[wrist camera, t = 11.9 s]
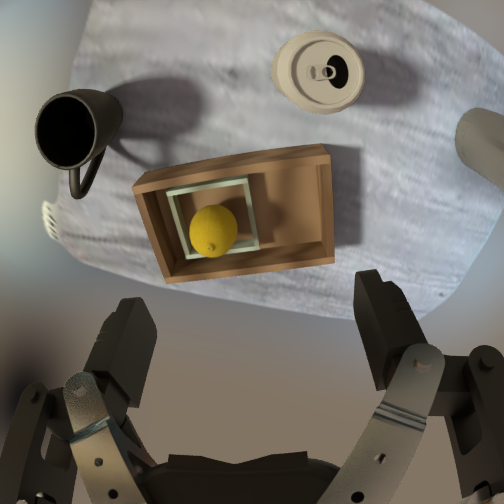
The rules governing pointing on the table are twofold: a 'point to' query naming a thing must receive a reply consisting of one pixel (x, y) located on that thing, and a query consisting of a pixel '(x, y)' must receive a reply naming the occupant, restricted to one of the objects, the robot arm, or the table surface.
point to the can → (319, 72)
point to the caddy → (242, 212)
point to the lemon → (213, 231)
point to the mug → (77, 133)
